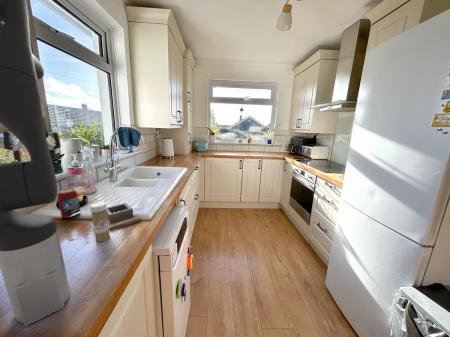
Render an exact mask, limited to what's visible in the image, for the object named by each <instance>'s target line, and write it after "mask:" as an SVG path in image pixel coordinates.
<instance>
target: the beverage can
mask: <svg viewBox="0 0 450 337" xmlns="http://www.w3.org/2000/svg"><path fill="white" fill-rule="evenodd" d="M56 198H57V201H58V207H59V211H60V215H61V218H63V217H64V219H69V218H68V217H69V216H71V215H72V214H74V213H77V212H79V211H80V212H81V208H80V207H81V206H80V202H79V201H80V200H79V197H78V192H77V191H76V190H75V188H64V189H61V190H59V191H58V192H57V197H56Z"/></svg>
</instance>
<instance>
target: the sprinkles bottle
mask: <svg viewBox="0 0 450 337" xmlns="http://www.w3.org/2000/svg"><path fill="white" fill-rule="evenodd" d="M89 207H90V213H91V216H92V224H93V230H94V234H95V242H99V243H100V242H101V243H102V242H105V241H107V240H109V239H110V238H111V234H110V231H109V225H108V218H107V213H106V208H107V204H106V202H103V201H101V202H95V203H93V204H91V205H90V206H89Z"/></svg>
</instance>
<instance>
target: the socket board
mask: <svg viewBox="0 0 450 337" xmlns="http://www.w3.org/2000/svg"><path fill="white" fill-rule="evenodd" d="M118 211H119V212H118ZM133 211H134V210H133V208H132V207H131V206H130V205H129V204H128V203H127V202H123V203H119V204H115V205H111V206H108V207H107V206H106V213H107V218H108V225H109V232H111V231H114V230H117V229H119V228H120V229H121V228H122V227H126V226H130V225H132V224H136V223H138V222H141V221H142V218H141V216H140V215H138V214H137V215H133ZM114 212H115V213H114Z"/></svg>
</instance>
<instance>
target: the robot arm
mask: <svg viewBox="0 0 450 337" xmlns="http://www.w3.org/2000/svg"><path fill="white" fill-rule="evenodd" d="M28 10H29V9H28V4H27V0H0V124H1V125H2V126H4V127H5V128H6V129H7V130H8V131H3V132H2V136H3V148H4V149H5V150H10V151H12V152H13V159H14V162H4V163H1V162H0V272H1V275H2V279H3V282H4V286H5V288H6V292H7V296H8V298H9V302H10V305H11V308H12V311H13V314H14V317H15V320H16V322H18V321H19V322H18V323H20V322H21V323H20V324H23V325H24V327H25V328H27V327H29V326H30V325H29V324H31V323H33V322H34V321H36V320H38V319H40V318H42V317H44V316H46V315H48V314H50V313H52V312H54V311H56V310H58V309H60V308H62V307H64V308H65V303H66V302H67V300H68V299H69V298H70V295H71V289H70V284H69V279H68V274H67V269H66V266H65V261H64V255H63V252H62V247H61V241H60V237H59V232H58V227H57V223H56V220H55V219H54V217H52V216H49V215H40V214H29V213H28V214H27V213H22V212H19V211H16V210H20V209H26V208H31V207H36V206H41V205H46V204H51V203H53V202H55V200H56V199H57V198H58V197H57V195H58V182H57V177H56V173H55V168H54V164H53V161H54V159H56V150H58V149H61V148H62V146H61V142H60V136H59V134H58V132H55V131H54V132H48V131H47V126H46V120H45V119H46V118H45V115H46V114H45V112H44V107H43V104H42V96H41V91H40V90H41V89H40V86H39V81H38V80H41V79H43V78H44V77H45V69H44V66H43V64H42V62H41V61H40V60H39V59H38V58H37V56H35V55H34V54H33V52H32V44H31V33H30V22H29V21H30V18H29V11H28ZM14 137H15V138H17V140H18V141H17V143H16V144H15V145H14V146H12V139H13V138H14ZM48 137H50V138H52V139H54V144H55V145H52V143H50V142H48V140H47V138H48ZM23 146H24V148H25V149H26V151H27V152H28V155H29V158H30V160H29V161H23V158H22V154H21V150H20V149H22V148H23ZM15 161H16V162H15ZM62 309H63V308H62ZM60 310H61V309H60ZM58 311H59V310H58ZM33 324H34V323H33ZM28 325H29V326H28ZM31 325H32V324H31ZM26 326H27V327H26Z"/></svg>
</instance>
